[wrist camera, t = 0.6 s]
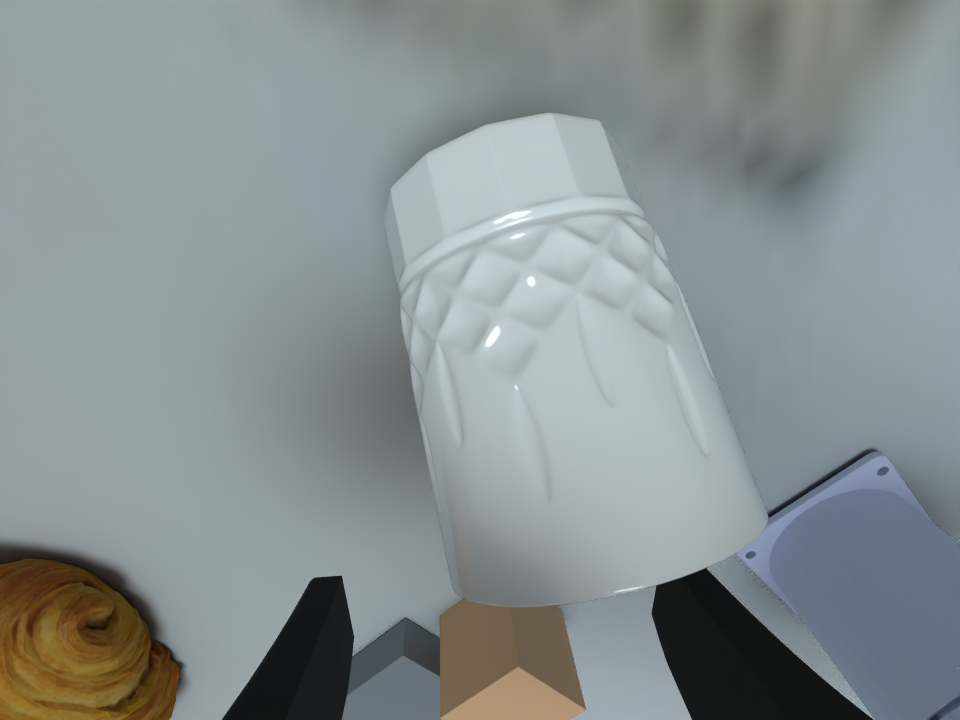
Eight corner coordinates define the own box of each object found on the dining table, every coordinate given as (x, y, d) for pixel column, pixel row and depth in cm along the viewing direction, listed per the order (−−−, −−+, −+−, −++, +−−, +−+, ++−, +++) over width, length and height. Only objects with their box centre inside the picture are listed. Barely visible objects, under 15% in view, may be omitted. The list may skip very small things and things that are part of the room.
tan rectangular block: (561, 609, 26) (586, 709, 22) (498, 651, 28) (510, 755, 23) (504, 567, 25) (518, 666, 20) (440, 614, 26) (439, 718, 22)
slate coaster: (509, 681, 29) (513, 719, 27) (411, 744, 31) (410, 783, 29) (405, 618, 26) (402, 655, 24) (305, 692, 28) (296, 731, 26)
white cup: (617, 202, 18) (707, 483, 16) (407, 267, 19) (476, 539, 17) (669, 40, 10) (847, 545, 9) (305, 163, 11) (415, 642, 9)
